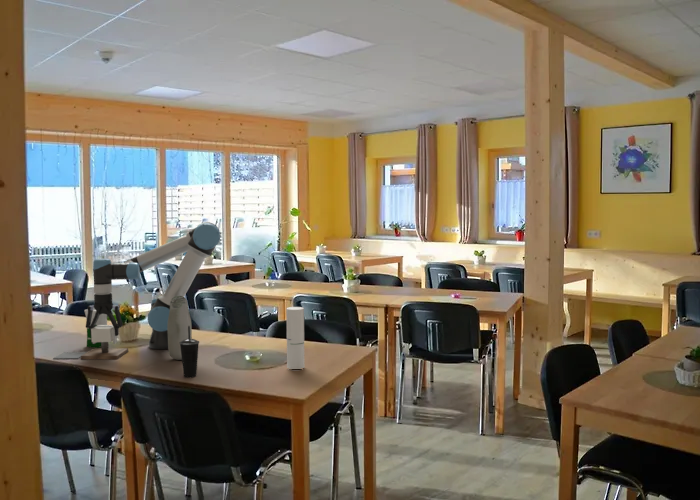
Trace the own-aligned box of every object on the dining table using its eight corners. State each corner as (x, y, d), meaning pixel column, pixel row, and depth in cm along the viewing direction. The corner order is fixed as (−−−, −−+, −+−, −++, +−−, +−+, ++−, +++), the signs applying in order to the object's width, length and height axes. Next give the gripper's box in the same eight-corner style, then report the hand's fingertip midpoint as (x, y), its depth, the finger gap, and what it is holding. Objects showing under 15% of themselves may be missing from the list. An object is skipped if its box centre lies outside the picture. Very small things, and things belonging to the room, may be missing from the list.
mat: (88, 353, 291) (88, 352, 291) (78, 359, 280) (78, 357, 280) (64, 353, 291) (64, 352, 291) (53, 359, 280) (53, 358, 280)
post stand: (128, 351, 294) (127, 325, 293) (117, 359, 280) (116, 332, 279) (93, 351, 293) (92, 326, 293) (81, 359, 280) (80, 332, 279)
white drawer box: (117, 337, 290) (117, 324, 290) (110, 342, 282) (110, 328, 281) (99, 338, 290) (98, 324, 290) (91, 342, 282) (91, 328, 281)
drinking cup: (201, 373, 256) (200, 324, 254) (197, 378, 248) (196, 328, 247) (182, 373, 255) (181, 324, 254) (178, 378, 248) (176, 328, 246)
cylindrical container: (295, 364, 268) (294, 306, 266) (308, 367, 263) (307, 308, 261) (283, 368, 262) (282, 308, 260) (296, 371, 258) (295, 310, 256)
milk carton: (111, 344, 308) (110, 304, 306) (96, 348, 299) (95, 306, 298) (98, 343, 311) (96, 302, 310) (83, 347, 303) (81, 305, 302)
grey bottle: (167, 357, 281) (165, 295, 279) (191, 355, 285) (189, 293, 283) (169, 363, 272) (167, 298, 270) (193, 360, 276) (192, 296, 274)
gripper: (129, 291, 288) (131, 341, 290) (82, 292, 288) (84, 341, 290) (123, 294, 281) (125, 344, 282) (75, 294, 281) (77, 345, 282)
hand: (104, 343), depth 286 cm, fingers closed on white drawer box, 8 cm apart
